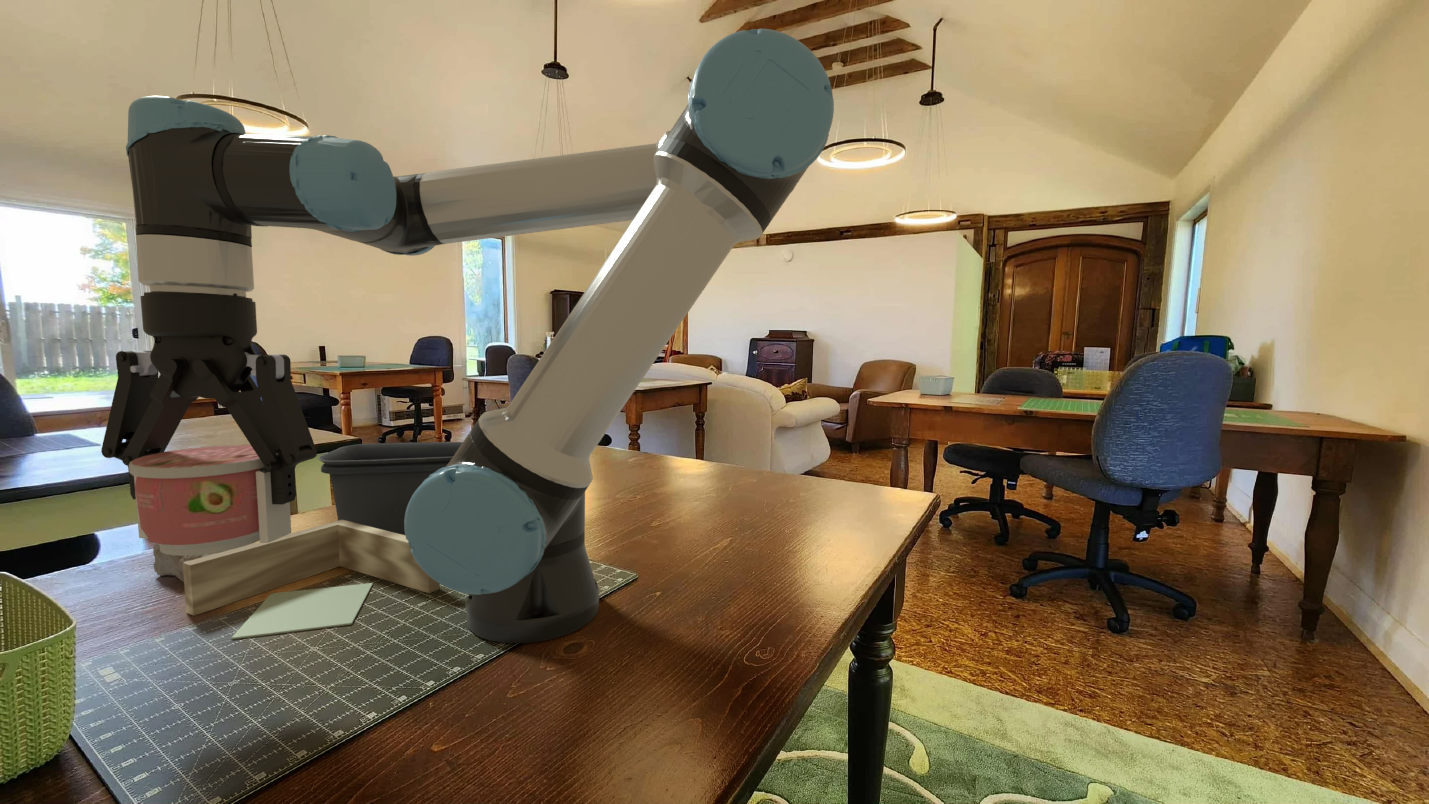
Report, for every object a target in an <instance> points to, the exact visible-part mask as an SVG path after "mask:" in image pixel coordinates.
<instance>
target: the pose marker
mask: <svg viewBox="0 0 1429 804" xmlns="http://www.w3.org/2000/svg"><path fill="white" fill-rule="evenodd" d="M373 585H374V583H373V582H370V583H369V582H368V583H359V584H348V585H340V586H329V587H319V588H310V589H301V590H292V591H291V590H290V591H283V592H281V591H280V592H273V593H272V592H271V593H270V594H269V595H268V596H267V598H266V599H265V600H264V601H263V602H262V603H261V604H260V605H259V607H258V608H257V609H256V610H254V612H253V613H252V614H251V615H250V616H249V618H247V620H246V621H245V622H244V623H243V624H242V625H241V627H239V628H238V630H237V631H236V632H235V633H234V634H233V635H232V636H231V639H230V640H238V639H245V638H246V639H247V638H254V637H255V638H256V637H262V636H269V635H271V636H272V635H279V634H280V635H281V634H286V633H287V634H288V633H296V632H301V631H302V632H304V631H310V630H311V631H312V630H319V629H320V630H321V629H327V628H333V627H342V626H351V625H353V623H354V621H355V619H356V617H357V615H358V614H359V612H360V610H361V608H362V606H363V604H364V603H365V600H366V599H367V596H368V595H369V592H370V591H371V590H372V587H373Z"/></svg>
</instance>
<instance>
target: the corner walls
mask: <svg viewBox="0 0 1429 804" xmlns="http://www.w3.org/2000/svg"><path fill="white" fill-rule="evenodd" d="M339 567H341V568H345V569H348V570H351V571H354V572H358V573H361V574H364V575H368V576H371V577H375V578H377V579H381V580H384V581H388V582H390V583H394V584H397V585H401V586H405V587H407V588H410V589H412V590H413V589H414V590H416V591H417V590H418V591H420V592H424V593H426V594H431V593H433V592H435V591H439V590H440V589H441V584H440V583H438V582H436V581H435V580H433V579H432V578H431V577H430V576H428V575H427V574H426V573H425V572H424V571H423V570H422V569H421V567H420V566H419V565H418V564H417V562H416V561H415V559H414V558H413V556H412V554H411V548H410V546H409V543H408V540H407V539H406V536H405V535H401V534H398V533H394V532H390V531H386V530H382V529H378V528H374V527H370V526H366V525H362V524H358V523H354V522H350V521H346V520H339V521H338V520H336V521H332V522H328V523H326V524H325V523H324V524H321V525H316V526H314V527H310V528H306V529H303V530H298V531H296V532H291V533H290V534H288V535H285V536H283V537H281V538H278V539H276V540H274V541H272V542H269V543H260V541H257V542H255V543H252V544H249V545H246V546H243V547H239V548H236V549H231V550H228V551H224V552H220V553H217V554H213V555H209V556H205V557H202V558H198V559H194V560H191V561H187V562H183V574H184V582H183V586H184V598H185V599H184V600H185V612H186V614H189V615H191V616H193V617H195V616H197V615H200V614H204V613H206V612H208V611H209V612H210V611H213V610H215V609H217V608H220V607H221V608H222V607H224V606H226V605H231V604H233V603H235V602H239V601H240V600H245V599H246V598H250V597H253V596H256V595H259V594H262V593H265V592H267V591H270V590H274V589H276V588H279V587H282V586H286V585H287V584H291V583H295V582H296V581H300V580H303V579H306V578H308V577H312V576H315V575H317V574H320V573H324V572H326V571H329V570H332V569H334V568H335V569H336V568H339Z"/></svg>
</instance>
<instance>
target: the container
mask: <svg viewBox="0 0 1429 804" xmlns="http://www.w3.org/2000/svg"><path fill="white" fill-rule="evenodd" d="M276 454H277V453H276ZM262 467H264V464H263V463H262V461H261V460H260V458H259V457H258V455H257V454H256V452H255V451H254V449H253V448H252V446H251V444H230V445H229V444H227V445H226V444H225V445H214V446H213V445H212V446H211V445H210V446H199V447H191V448H190V447H189V448H183V449H182V448H181V449H174V450H169V451H164V452H161V453H156V454H151V455H147V456H143V457H140V458H137V459H135V460H133V461H131V462H130V463H129V471H128V474H129V473H130V474H132V475H133V476H137V477H136V483H135V492H136V499H137V506H138V512H139V519H140V525H141V529H142V530H143V531H144V533H145V534H146V536H147V537H148V538H147V539H148V540H149V542H151V543H154V544H155V543H156V544H158V545H160V551H161V552H162V553H164V554H168V555H179V556H185V555H201V554H209V553H216V552H221V551H227V550H231V549H236V548H239V547H243V546H246V545H250V544H254V543H257V542H260V534H259V518H258V501H257V485H256V471H260V470H259V469H261V468H262ZM136 499H135V500H136Z"/></svg>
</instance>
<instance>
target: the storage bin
mask: <svg viewBox="0 0 1429 804" xmlns="http://www.w3.org/2000/svg"><path fill="white" fill-rule="evenodd" d="M462 443H463V441H441V442H439V441H437V442H436V441H435V442H434V441H433V442H393V443H392V442H390V443H387V442H386V443H380V442H379V443H359V444H352V445H345V446H342V447H338V448H337V449H334V450H332V451H329V452H327V453H324V454H322V455H319V456H318V458H317V459H318V460H319V461H320V462H322V463H323V464H322V465H321V467H320V472H321V473H322V474H327V475H330V476H329V478H330V481H331V482H330V483H331V488H332V493H333V498H334V503H335V510H336V516H337V521H339V520H346V521H350V522H354V523H358V524H362V525H366V526H370V527H374V528H378V529H382V530H386V531H390V532H394V533H398V534H401V535H405V530H404V520H405V513H406V509H407V506H408V503H409V501H410V499H411V497H412V495H413V494H414V492H415V491H416V490H417V488H418V487H419V486H420V485H421V484H422V482H423V481H424V480H425V479H427V478H428V477H429V475H430V474H433V473H434V472H436V471H437V470H439V469H441V468H443V467H446V466H447V465H448V463H449V462H450V461H451V459H452V458H453V456H454V455H455V453H456V452H457V450H458V449H459V447H460V446H461V444H462Z"/></svg>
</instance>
